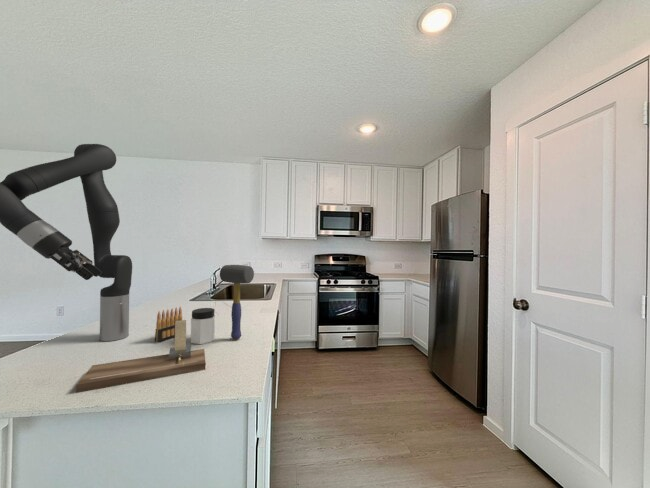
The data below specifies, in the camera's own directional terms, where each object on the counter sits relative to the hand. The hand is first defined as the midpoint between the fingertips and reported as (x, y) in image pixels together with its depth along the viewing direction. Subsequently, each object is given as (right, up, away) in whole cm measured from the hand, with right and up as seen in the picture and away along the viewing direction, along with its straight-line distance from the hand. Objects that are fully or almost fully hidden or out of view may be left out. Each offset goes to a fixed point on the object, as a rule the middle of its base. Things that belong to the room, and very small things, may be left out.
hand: (95, 276), depth 83 cm
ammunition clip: (+10, -28, +23) cm, 38 cm away
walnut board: (+20, -28, -4) cm, 34 cm away
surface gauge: (+26, -26, +1) cm, 37 cm away
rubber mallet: (+37, -28, +23) cm, 52 cm away
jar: (+24, -28, +21) cm, 43 cm away
